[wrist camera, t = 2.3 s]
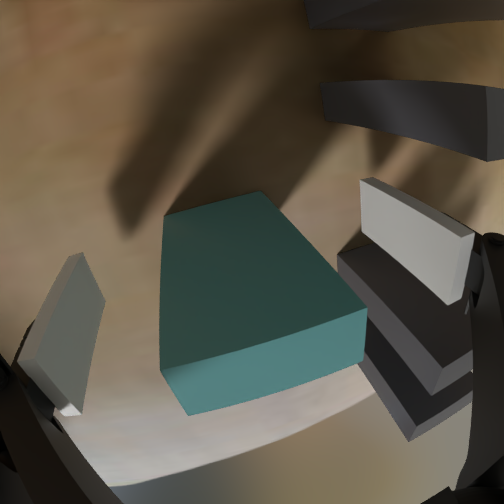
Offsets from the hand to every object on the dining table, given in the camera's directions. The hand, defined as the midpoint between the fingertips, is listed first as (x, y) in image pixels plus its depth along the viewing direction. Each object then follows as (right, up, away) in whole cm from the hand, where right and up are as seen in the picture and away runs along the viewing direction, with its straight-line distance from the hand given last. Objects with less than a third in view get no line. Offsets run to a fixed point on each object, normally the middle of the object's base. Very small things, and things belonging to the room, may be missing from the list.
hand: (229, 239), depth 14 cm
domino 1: (-1, +1, +2) cm, 3 cm away
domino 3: (+7, +8, +1) cm, 10 cm away
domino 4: (+9, -1, +6) cm, 10 cm away
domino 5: (+10, -5, +8) cm, 14 cm away
